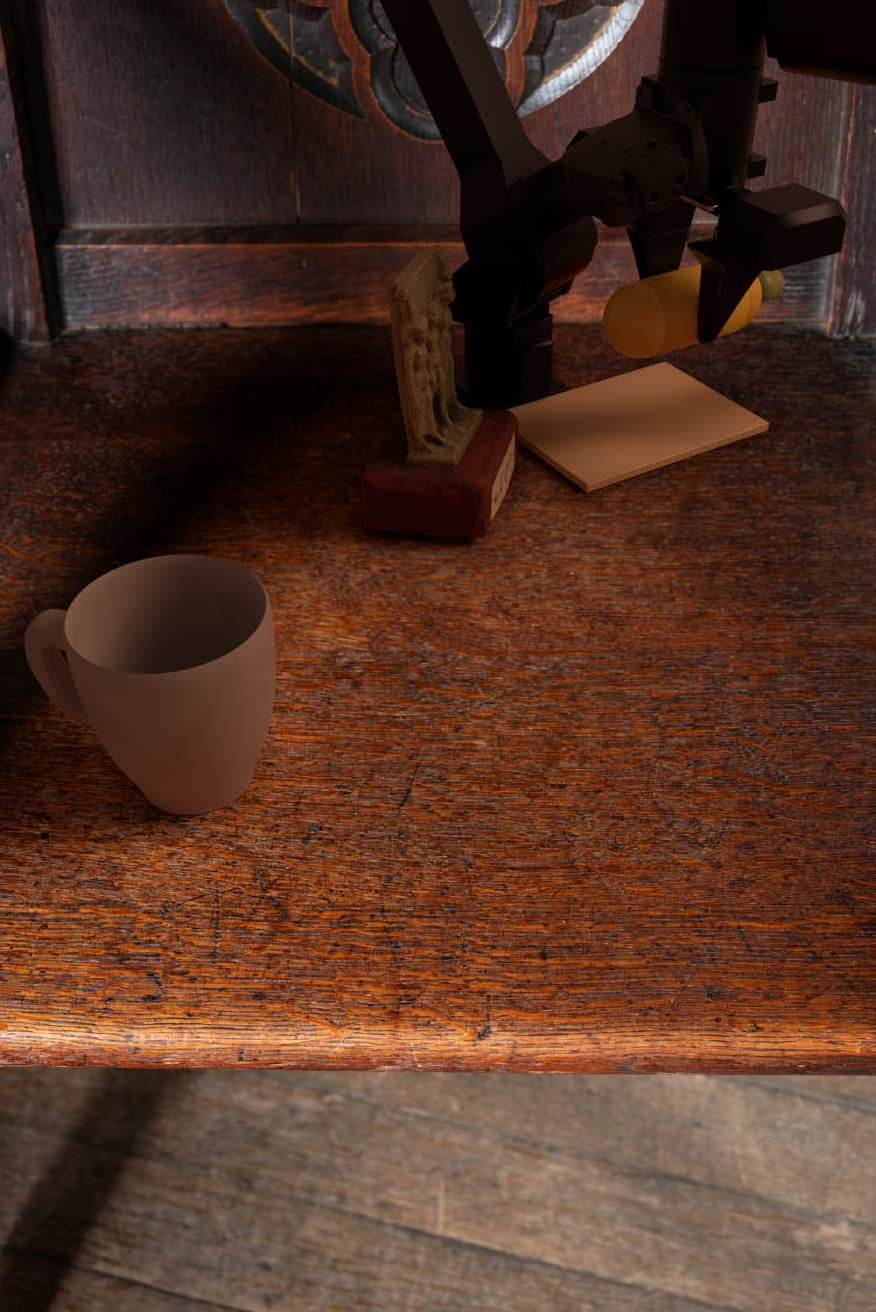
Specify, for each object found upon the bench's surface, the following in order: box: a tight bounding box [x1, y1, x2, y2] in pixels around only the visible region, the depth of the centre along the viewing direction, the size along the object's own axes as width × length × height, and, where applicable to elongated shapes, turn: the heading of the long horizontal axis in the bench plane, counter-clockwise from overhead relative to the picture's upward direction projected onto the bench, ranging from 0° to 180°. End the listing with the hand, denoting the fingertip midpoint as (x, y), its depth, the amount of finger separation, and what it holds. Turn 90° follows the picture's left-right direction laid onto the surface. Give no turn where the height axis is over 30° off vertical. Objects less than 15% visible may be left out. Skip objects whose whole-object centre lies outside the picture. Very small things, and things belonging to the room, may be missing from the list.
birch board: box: [507, 361, 770, 493], centre depth 85 cm, size 11×15×1 cm
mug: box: [24, 554, 277, 816], centre depth 57 cm, size 12×9×10 cm
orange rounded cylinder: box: [602, 263, 786, 359], centre depth 78 cm, size 14×5×5 cm, turn 121°
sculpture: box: [360, 244, 519, 539], centre depth 73 cm, size 10×8×15 cm
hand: (680, 328), depth 79 cm, fingers closed on orange rounded cylinder, 4 cm apart
